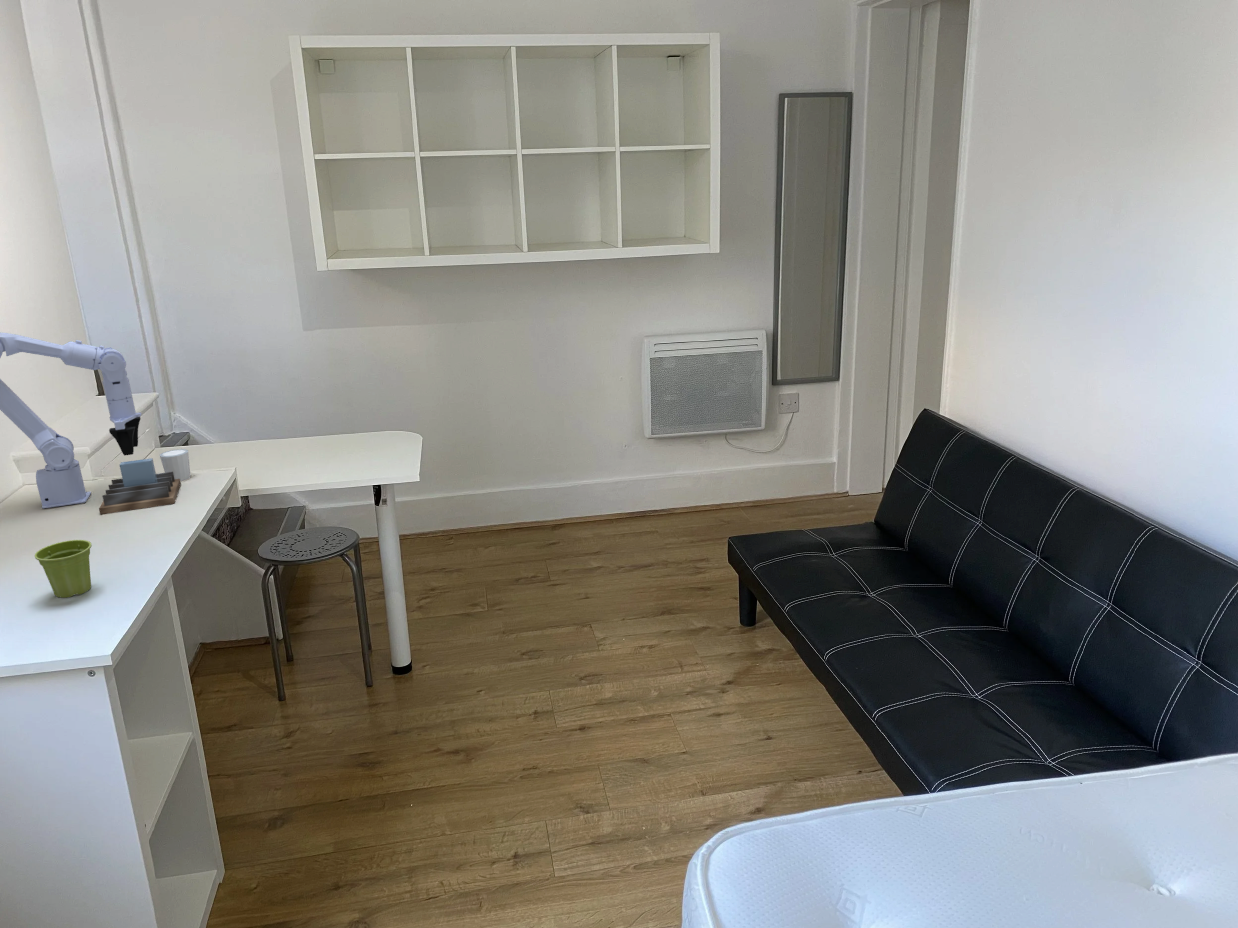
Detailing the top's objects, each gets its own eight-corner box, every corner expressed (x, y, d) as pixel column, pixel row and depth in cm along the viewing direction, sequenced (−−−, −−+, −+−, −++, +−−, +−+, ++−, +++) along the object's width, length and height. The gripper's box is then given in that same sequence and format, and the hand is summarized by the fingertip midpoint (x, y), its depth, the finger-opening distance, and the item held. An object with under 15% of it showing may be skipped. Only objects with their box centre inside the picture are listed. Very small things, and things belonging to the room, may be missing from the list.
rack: (100, 514, 220) (96, 498, 219) (111, 493, 234) (108, 478, 233) (174, 503, 225) (171, 488, 223) (180, 484, 239) (177, 469, 238)
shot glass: (198, 476, 245) (193, 450, 243) (175, 483, 240) (169, 457, 238) (183, 472, 249) (178, 447, 247) (159, 480, 243) (153, 454, 241)
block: (126, 496, 227) (119, 465, 225) (127, 493, 229) (121, 462, 227) (157, 491, 229) (151, 460, 227) (159, 489, 231) (152, 458, 229)
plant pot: (111, 580, 182) (102, 539, 179) (80, 602, 173) (70, 559, 170) (67, 580, 183) (56, 539, 180) (33, 602, 174) (22, 559, 172)
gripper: (132, 402, 225) (144, 456, 229) (141, 390, 239) (152, 441, 243) (100, 405, 223) (112, 460, 227) (110, 393, 236) (122, 445, 241)
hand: (130, 450), depth 235 cm, fingers open, 7 cm apart
